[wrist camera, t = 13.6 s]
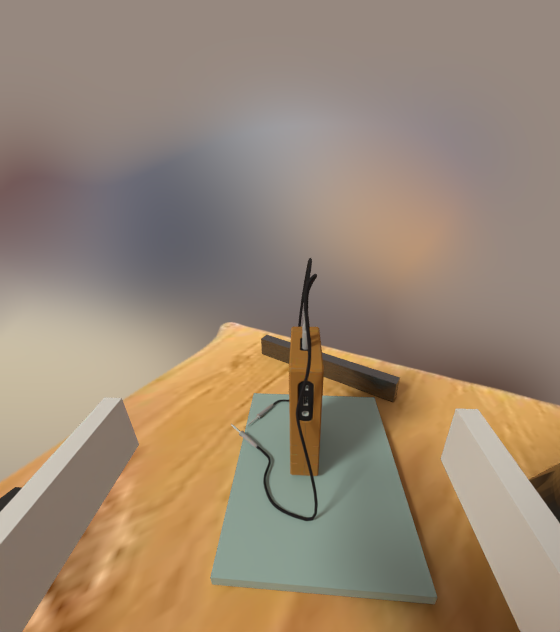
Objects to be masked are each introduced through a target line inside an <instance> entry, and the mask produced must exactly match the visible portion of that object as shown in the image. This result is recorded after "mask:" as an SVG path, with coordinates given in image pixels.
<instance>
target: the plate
mask: <svg viewBox="0 0 560 632" xmlns="http://www.w3.org/2000/svg"><path fill="white" fill-rule="evenodd" d="M282 399H285V400H289V395H287V394H257V393H254V395H253V400H252V404H251V408H250V412H249V416H248V421H247V424H248V423H250V422H251V421H252V420H253V419H255V418H256V417H257V416H256V415H257V414H259V413H260V412H261V411H263V410H264V409H265V408H266V407H268V406H269V405H270V404H273V403H274V402H276V401H278V400H282ZM245 434H246V435H248V436H249V437H250V438H251V439H252V440H253V441H255V442H256V444H257V445H258V446H259V447H260V448H261V449H262V450H264V451H265V452H266V453H267V454H268V455H269V457H270V459H271V464H270V467H269V470H268V472H267V475H266V486H267V489H268V492H269V495H270V497H271V499H272V500H273V501H274V502H275V504H277V505H278V506H279V507H281V508H282V509H284V510H286V511H288V512H291V513H293V514H296V515H299V516H303V517H306V518H307V517H312V516H313V514H314V508H315V502H314V493H313V487H312V482H311V477H310V476H306V475H291V474H290V413H289V402H287V401H281V402H278V403H276V404H275V405H274V406H273V407H272V408H271V409H270V410H269V411H268V412H266V413H265V414H264V415H263V416H261V417H260V419H258V418H257V419H256V420H255V421H253V422H252V423H251V424H250V425H248V426H247V425H246V429H245ZM268 462H269V460H268V458H267V457H266V456H265V455H264V454H263V453H262V452H261V451H260V450H258V449H257V448H255V447H253V446H252V445H251V444H250V443H249V442H247V441H246V440H245V439H244V438H243V442H242V446H241V450H240V455H239V459H238V463H237V467H236V472H235V476H234V480H233V484H232V488H231V493H230V497H229V501H228V505H227V510H226V514H225V518H224V522H223V527H222V531H221V535H220V539H219V544H218V548H217V552H216V556H215V560H214V565H213V569H212V573H211V577H210V578H211V582H212V584H214V585H225V586H236V587H247V588H259V589H270V590H281V591H292V592H303V593H314V594H326V595H337V596H348V597H359V598H370V599H381V600H393V601H404V602H415V603H426V604H435V602H436V600H437V594H436V591H435V588H434V585H433V582H432V579H431V575H430V572H429V569H428V566H427V563H426V560H425V556H424V553H423V550H422V547H421V544H420V541H419V537H418V534H417V531H416V528H415V525H414V522H413V518H412V515H411V512H410V509H409V506H408V503H407V499H406V496H405V493H404V490H403V487H402V484H401V480H400V477H399V474H398V471H397V468H396V465H395V461H394V458H393V455H392V452H391V449H390V446H389V442H388V439H387V436H386V433H385V430H384V427H383V423H382V420H381V417H380V414H379V411H378V408H377V404H376V401H375V398H374V397H345V396H322V414H321V434H320V453H319V471H318V476H313V477H314V482H315V487H316V492H317V501H318V508H317V515H316V516H315V518H314V520H313V521H304V520H300V519H297V518H294V517H291V516H289V515H286V514H284V513H282V512H281V511H279V510H278V509H276V508H275V507H274V506H273V505H272V504H271V502H270V501H269V499H268V497H267V495H266V492H265V488H264V484H263V478H264V473H265V470H266V468H267V465H268Z"/></svg>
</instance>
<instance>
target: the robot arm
mask: <svg viewBox="0 0 560 632" xmlns="http://www.w3.org/2000/svg"><path fill="white" fill-rule="evenodd" d="M138 445H139V443H138V441H137V438H136V435H135V433H134V430H133V427H132V424H131V422H130V419H129V416H128V414H127V411H126V408H125V406H124V403H123V400H122V398H104V399H103V400H102V401H101V402H100V403H99V404H98V405H97V406H96V407H95V408H94V410H93V411H92V412H91V413H90V414H89V415H88V416H87V417H86V418H85V420H84V421H83V422H82V423H81V424H80V425H79V426H78V427H77V428H76V429H75V430H74V432H73V433H72V434H71V435H70V436H69V437H68V438H67V439H66V440H65V441H64V443H63V444H62V445H61V446H60V447H59V448H58V449H57V450H56V451H55V452H54V454H53V455H52V456H51V457H50V458H49V459H48V460H47V461H46V462H45V463H44V465H43V466H42V467H41V468H40V469H39V470H38V471H37V472H36V473H35V474H34V476H33V477H32V478H31V479H30V480H29V481H28V482H27V483H26V484H25V485H24V487H23V488H19V487H15V488H14V489H12V490H11V491H10V492H8V493H7V494H6V495H4V496H3V497H2V498H0V632H22V631H23V629H24V628H25V626H26V625H27V623H28V621H29V620H30V618H31V617H32V615H33V613H34V612H35V610H36V609H37V607H38V605H39V604H40V602H41V601H42V599H43V597H44V596H45V594H46V593H47V591H48V589H49V588H50V586H51V585H52V583H53V581H54V580H55V578H56V577H57V575H58V573H59V572H60V570H61V569H62V567H63V565H64V564H65V562H66V561H67V559H68V557H69V556H70V554H71V553H72V551H73V549H74V548H75V546H76V545H77V543H78V541H79V540H80V538H81V537H82V535H83V533H84V532H85V530H86V529H87V527H88V525H89V524H90V522H91V521H92V519H93V517H94V516H95V514H96V512H97V511H98V509H99V508H100V506H101V504H102V503H103V501H104V500H105V498H106V496H107V495H108V493H109V492H110V490H111V488H112V487H113V485H114V484H115V482H116V480H117V479H118V477H119V476H120V474H121V472H122V471H123V469H124V468H125V466H126V464H127V463H128V461H129V460H130V458H131V456H132V455H133V453H134V452H135V450H136V448H137V447H138ZM441 461H442V463H443V465H444V467H445V470H446V472H447V474H448V476H449V478H450V480H451V483H452V485H453V487H454V489H455V491H456V493H457V496H458V498H459V500H460V502H461V504H462V506H463V509H464V511H465V513H466V515H467V517H468V519H469V522H470V524H471V526H472V528H473V530H474V532H475V535H476V537H477V539H478V541H479V543H480V545H481V548H482V550H483V552H484V554H485V556H486V558H487V561H488V563H489V565H490V567H491V569H492V571H493V574H494V576H495V578H496V580H497V582H498V584H499V587H500V589H501V591H502V593H503V595H504V597H505V600H506V602H507V604H508V606H509V608H510V610H511V613H512V615H513V617H514V619H515V621H516V623H517V626H518V628H519V630H520V632H560V463H559V464H557V465H555V466H553V467H551V468H550V469H548V470H546V471H544V472H542V473H540V474H538V475H537V476H535V477H533V478H531V479H529V480H528V478H527V477H526V476H525V474H524V473H523V471H522V470H521V469H520V467H519V466H518V464H517V463H516V462H515V460H514V459H513V457H512V456H511V455H510V453H509V452H508V450H507V449H506V448H505V446H504V445H503V444H502V442H501V441H500V439H499V438H498V437H497V435H496V434H495V432H494V431H493V430H492V428H491V427H490V425H489V424H488V423H487V421H486V420H485V418H484V417H483V416H482V414H481V413H480V411H479V410H478V409H456V410H455V413H454V417H453V420H452V423H451V427H450V430H449V433H448V436H447V440H446V443H445V446H444V450H443V453H442V456H441Z"/></svg>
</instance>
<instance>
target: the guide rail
mask: <svg viewBox="0 0 560 632" xmlns="http://www.w3.org/2000/svg"><path fill="white" fill-rule="evenodd" d="M261 343H262V354H264V355H267V356H269V357H272V358H275V359H277V360H280V361H283V362H286V363H288V364H289V360H290V344H291V342H288V341H284V340H281V339H278V338H275V337H272V336H269V335H266V336H265V337H263V338H262V339H261ZM322 358H323V367H324V375H323V376H324V377H326V378H329V379H332V380H334V381H337V382H340V383H343V384H345V385H348V386H351V387H353V388H356V389H359V390H362V391H364V392H367V393H370V394H372V395H375V396H378V397H381V398H383V399H386V400H389V401H391V402H394V399H395V397H396V395H397V390H398V384H399V379H400V378H399V377H396V376H393V375H390V374H387V373H384V372H381V371H378V370H374V369H371V368H368V367H365V366H362V365H359V364H356V363H353V362H350V361H347V360H343V359H340V358H337V357H334V356H331V355H328V354H325V353H322Z"/></svg>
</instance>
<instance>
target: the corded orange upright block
mask: <svg viewBox="0 0 560 632" xmlns="http://www.w3.org/2000/svg"><path fill="white" fill-rule="evenodd" d="M311 265H312V259H311V258H310V259H309V260H308V264H307V270H306V275H305V280H304V286H303V293H302V299H301V307H300V315H299V324H298V325H299V326H298V327H292V329H291V344H290V360H289V400H285V399H282V400H278V401H276V402H274V403H273V404H270V405H269V406H268V407H266V408H265V409H264V410H263V411H261V412H260V413H259V414H257V415H256V416H257V417H256V418H255V419H253V420H252V421H251V422H250V423H248V424H247V426H248V425H250V424H251V423H252V422H253V421H255V420H256V419H257V418H258V419H260V417H261V416H263V415H264V414H265V413H266V412H268V411H269V410H270V409H271V408H272V407H273V406H274V405H275V404H276V403H278V402H281V401H287V402H289V413H290V474H291V475H306V476H310V477H311V482H312V487H313V493H314V502H315V508H314V514H313V516H312V517H307V518H306V517H303V516H299V515H296V514H293V513H291V512H288V511H286V510H284V509H282V508H281V507H279V506H278V505H277V504H275V502H274V501H273V500H272V499H271V497H270V495H269V492H268V489H267V486H266V475H267V472H268V470H269V467H270V464H271V459H270V457H269V455H268V454H267V453H266V452H265V451H264V450H262V449H261V448H260V447H259V446H258V445H257V444H256V442H255V441H253V440H252V439H251V438H250V437H249V436H248V435H246V434H245V433H244V431H240V430H239V429H237V428H236V427H235V426H234V425H232V424H231V425H232V427H233V428H235V429H236V430H237V431H238V432H239V433H240V434H239V435H240V436H242V437H243V438H244V439H245V440H246V441H247V442H249V443H250V444H251V445H252V446H253V447H255V448H257V449H258V450H260V451H261V452H262V453H263V454H264V455H265V456H266V457H267V458H268V460H269V462H268V465H267V468H266V470H265V473H264V478H263V484H264V488H265V492H266V495H267V497H268V499H269V501H270V502H271V504H272V505H273V506H274V507H275V508H276V509H278V510H279V511H281V512H282V513H284V514H286V515H289V516H291V517H294V518H297V519H300V520H304V521H313V520H314V518H315V516H316V515H317V508H318V501H317V492H316V487H315V482H314V477H313V476H318V471H319V453H320V434H321V414H322V395H323V375H324V367H323V358H322V349H321V341H320V333H319V328H318V327H309V316H308V295H309V290H310V288H311V286H312V284H313V282H314V280H315V279H316V277H317V274H314V275H313V276H312V277H311V278H310V272H311ZM303 302H304V325H303V326H302V327H300V326H301V317H302V309H303Z"/></svg>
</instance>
